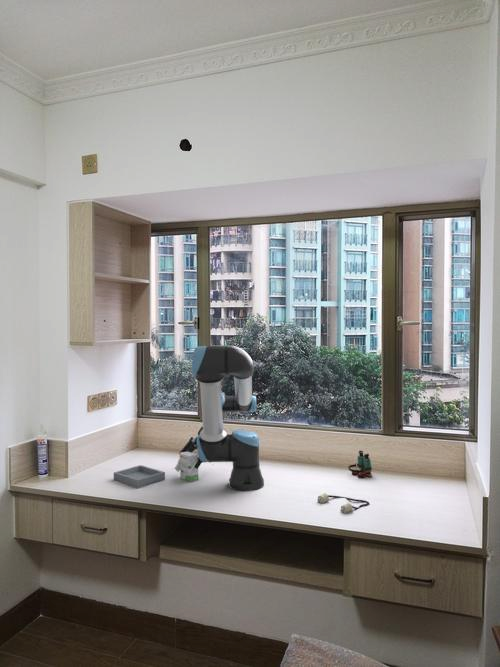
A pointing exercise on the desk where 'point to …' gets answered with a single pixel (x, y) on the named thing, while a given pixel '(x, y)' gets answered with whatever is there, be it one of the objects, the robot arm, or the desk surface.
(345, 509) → the grey balls with cord
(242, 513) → the desk surface
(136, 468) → the gray tray
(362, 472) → the binoculars
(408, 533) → the desk surface
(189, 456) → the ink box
